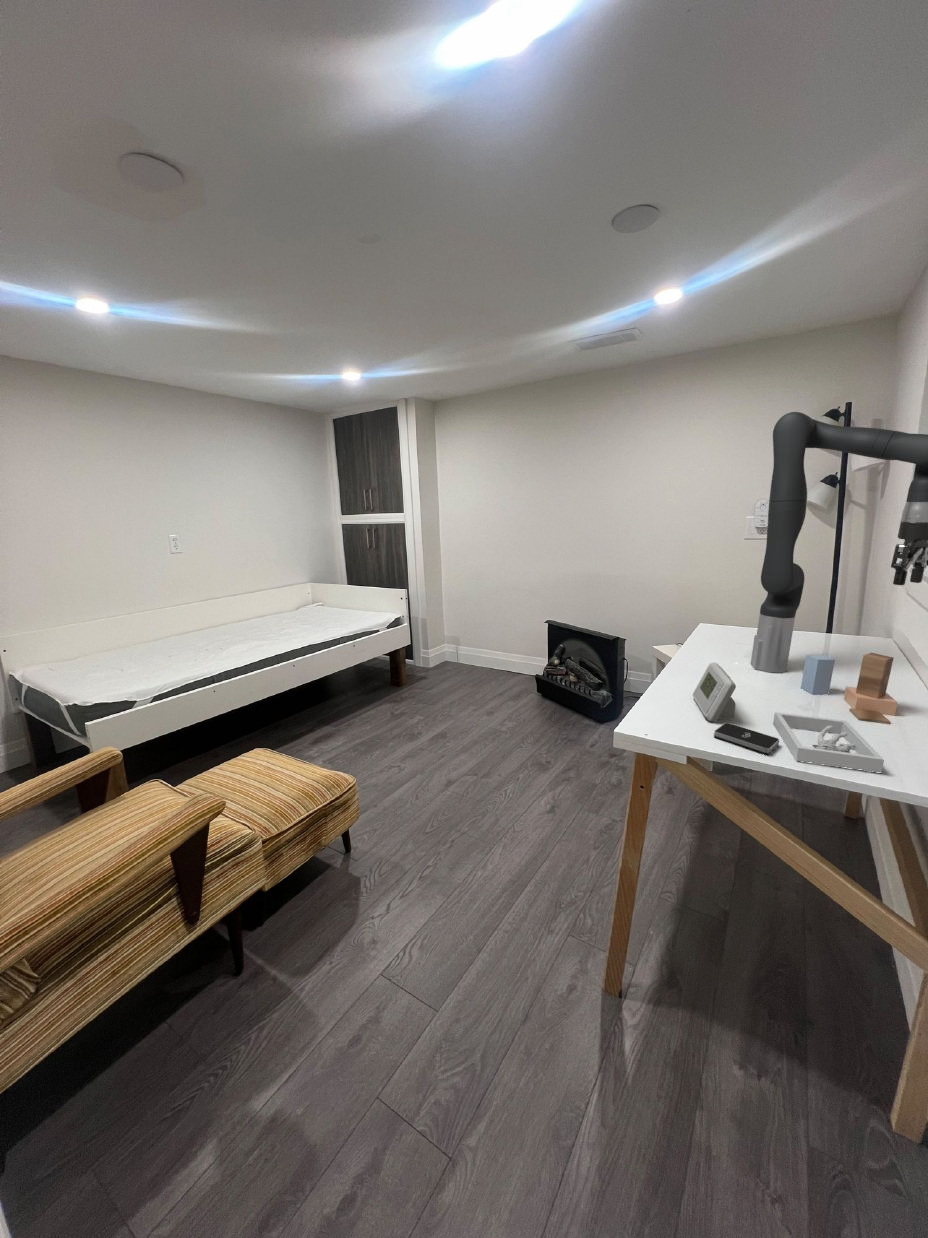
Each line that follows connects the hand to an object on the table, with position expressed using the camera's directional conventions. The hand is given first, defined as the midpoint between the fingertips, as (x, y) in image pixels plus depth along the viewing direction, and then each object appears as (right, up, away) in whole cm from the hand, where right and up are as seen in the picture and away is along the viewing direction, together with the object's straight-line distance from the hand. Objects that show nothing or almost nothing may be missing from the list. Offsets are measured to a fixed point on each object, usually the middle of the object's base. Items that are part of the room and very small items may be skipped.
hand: (907, 583), depth 126 cm
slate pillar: (-19, -29, +7) cm, 36 cm away
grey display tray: (-39, -36, -23) cm, 58 cm away
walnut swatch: (-17, -33, -9) cm, 38 cm away
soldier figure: (-39, -37, -26) cm, 60 cm away
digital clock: (-54, -32, -5) cm, 63 cm away
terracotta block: (-13, -32, -3) cm, 35 cm away
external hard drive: (-54, -37, -20) cm, 69 cm away
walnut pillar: (-13, -28, -4) cm, 31 cm away
